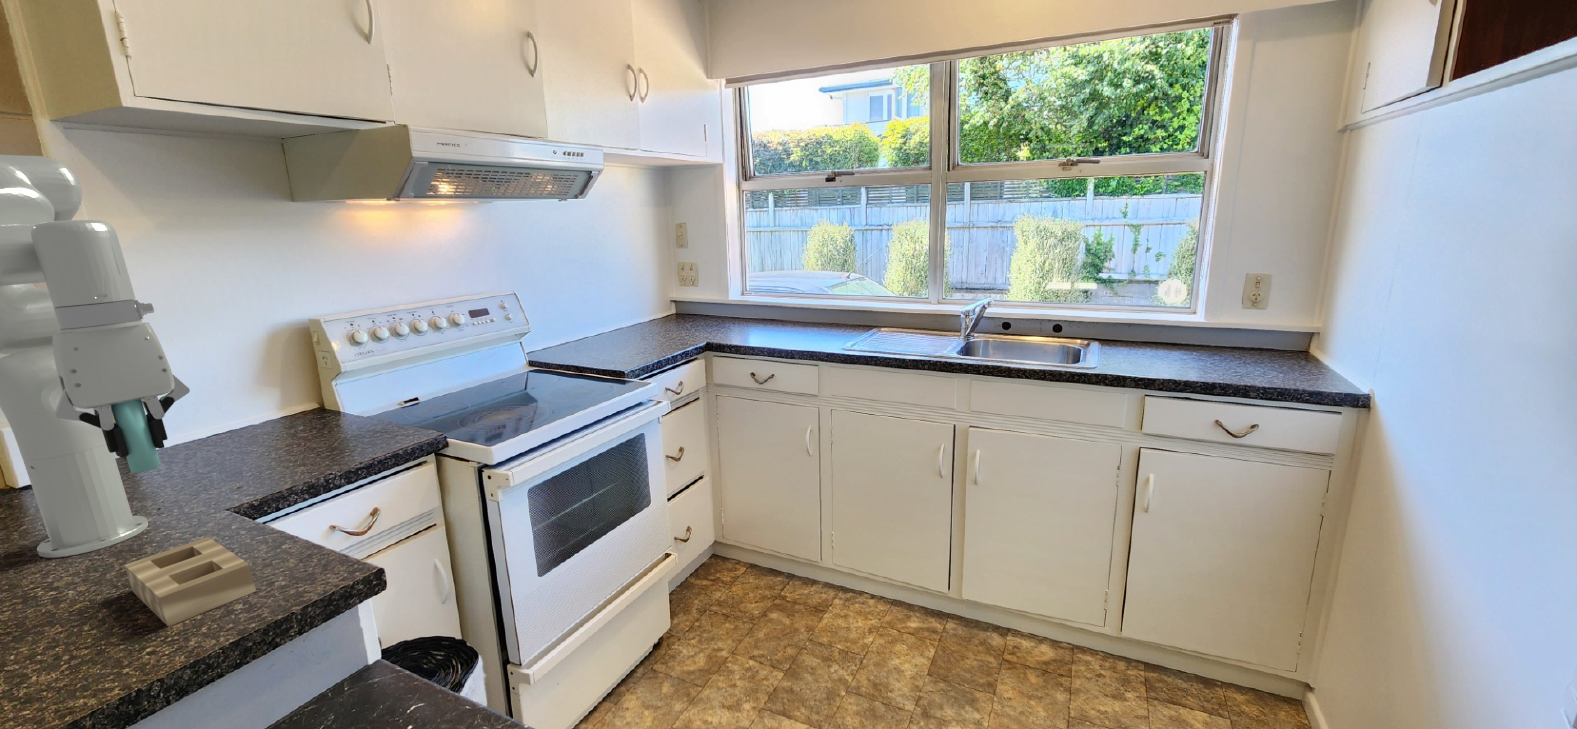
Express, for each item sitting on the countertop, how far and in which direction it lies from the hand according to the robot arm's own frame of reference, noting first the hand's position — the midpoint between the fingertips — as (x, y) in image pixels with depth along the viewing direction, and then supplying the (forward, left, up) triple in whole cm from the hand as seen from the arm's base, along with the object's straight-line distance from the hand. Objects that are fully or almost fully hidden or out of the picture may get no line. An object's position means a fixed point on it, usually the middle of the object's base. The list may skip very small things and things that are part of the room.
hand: (140, 450), depth 89 cm
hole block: (+8, 0, -19) cm, 20 cm away
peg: (0, 0, -3) cm, 3 cm away
